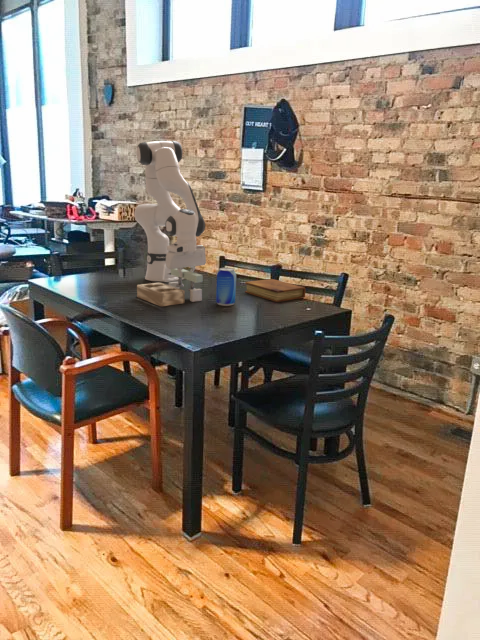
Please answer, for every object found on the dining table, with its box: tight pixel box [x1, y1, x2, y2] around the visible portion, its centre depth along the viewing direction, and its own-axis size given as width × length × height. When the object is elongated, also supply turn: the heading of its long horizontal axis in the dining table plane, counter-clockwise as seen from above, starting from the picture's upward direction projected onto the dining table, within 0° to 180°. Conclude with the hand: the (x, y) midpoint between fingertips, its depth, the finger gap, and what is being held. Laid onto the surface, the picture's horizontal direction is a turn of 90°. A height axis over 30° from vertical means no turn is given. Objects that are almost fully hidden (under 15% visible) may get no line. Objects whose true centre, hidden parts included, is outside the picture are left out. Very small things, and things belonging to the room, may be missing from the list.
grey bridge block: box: [171, 268, 204, 292], centre depth 241 cm, size 4×20×8 cm, turn 41°
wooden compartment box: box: [136, 281, 186, 307], centre depth 233 cm, size 12×20×6 cm, turn 40°
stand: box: [168, 281, 203, 303], centre depth 242 cm, size 5×20×6 cm, turn 40°
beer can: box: [215, 267, 237, 307], centre depth 231 cm, size 8×8×16 cm
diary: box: [244, 278, 307, 303], centre depth 256 cm, size 23×19×6 cm
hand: (186, 276), depth 240 cm, fingers closed on grey bridge block, 3 cm apart
